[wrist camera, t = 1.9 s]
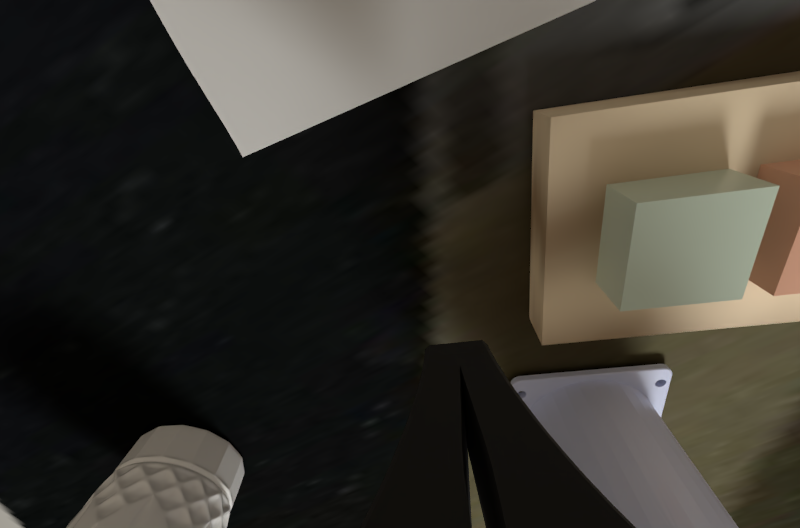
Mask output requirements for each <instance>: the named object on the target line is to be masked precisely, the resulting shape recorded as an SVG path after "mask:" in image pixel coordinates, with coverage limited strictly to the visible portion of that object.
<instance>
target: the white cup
mask: <svg viewBox="0 0 800 528" xmlns="http://www.w3.org/2000/svg"><path fill="white" fill-rule="evenodd" d="M243 476H244V465H243V459H242V456H241V455H240V454H239V453H238V452H237V450H236V449H235V448H234V447H233V446H232V445H231V443H230V442H228V441H226V440H225V439H223V438H221V437H219V436H218V435H216V434H214V433H212V432H210V431H208V430H204V429H200V428H196V427H192V426H187V425H169V426H159V427H157V428H155V429H153V430H151V431H149V432H148V433H146V434H144V435H142V436H141V437H140V438H139V440H138V441H137V442H136V443H135V445H134V446H133V447H132V449H131V450H130V451H129V453H128V454H127V455H126V456H125V458H124V459H123V460H122V462H121V463H120V464H119V466H118V467H117V468H116V470H115V471H114V473H113V474H112V475H111V476H110V477H109V478H108V479H106V481H105V482H104V483H103V484H102V485H100V487H99V488H98V489H97V490H96V491H95V493H94V494H93V495H92V496H91V498H90V499H89V500H88V502H87V503H86V504H85V506H84V507H83V508H82V510H81V511H80V512H79V513H78V514H77V515H76V516H75V517H74V518H73V519H72V521H71V522H70V523H69V524H68V525H67V527H66V528H227V524H228V520H229V515H230V511H231V509H232V506H233V504H234V501H235V498H236V496H237V493H238V490H239V487H240V485H241V482H242V479H243Z"/></svg>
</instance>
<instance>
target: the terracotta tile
mask: <svg viewBox="0 0 800 528" xmlns="http://www.w3.org/2000/svg"><path fill="white" fill-rule="evenodd" d="M757 178H758V179H761V180H764V181H767V182H770V183H773V184H776V185H779V186H780V187H779V190H778V193H777V196H776V199H775V202H774V205H773V208H772V211H771V214H770V217H769V220H768V223H767V226H766V229H765V232H764V235H763V238H762V241H761V244H760V247H759V250H758V253H757V256H756V259H755V262H754V265H753V268H752V271H751V274H750V277H749V281H751V282H752V283H754V284H756V285H757V286H759V287H760V288H762V289H763V290H765V291H766V292H768V293H770V294H771V295H773V296H780V295H790V294H800V160H792V161H785V162H777V163H769V164H761V165H760V169H759V172H758V175H757Z"/></svg>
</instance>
